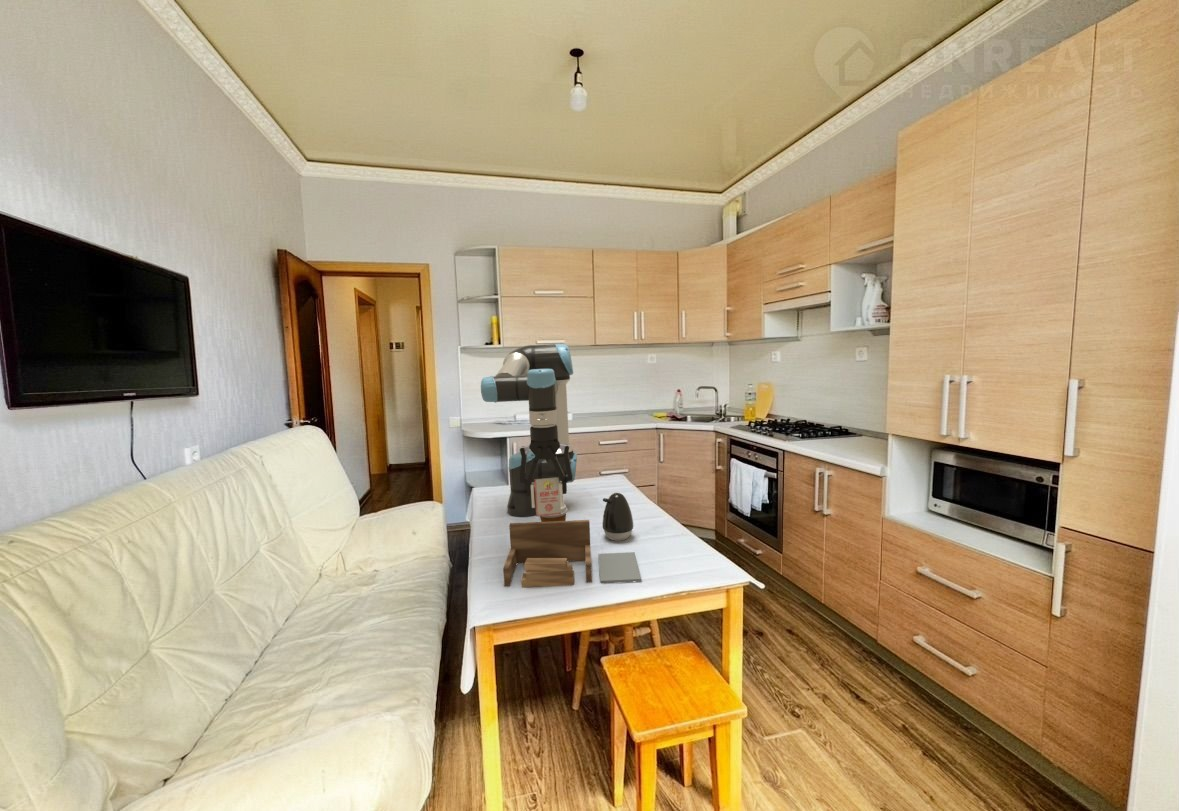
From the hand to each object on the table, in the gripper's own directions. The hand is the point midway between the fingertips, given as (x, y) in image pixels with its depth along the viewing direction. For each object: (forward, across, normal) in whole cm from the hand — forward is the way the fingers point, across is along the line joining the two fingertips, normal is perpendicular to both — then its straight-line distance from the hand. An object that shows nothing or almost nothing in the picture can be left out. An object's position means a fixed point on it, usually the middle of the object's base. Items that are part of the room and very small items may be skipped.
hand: (547, 505), depth 125 cm
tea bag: (+2, 0, 0) cm, 2 cm away
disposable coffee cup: (+19, 0, +19) cm, 27 cm away
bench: (+19, 0, -1) cm, 19 cm away
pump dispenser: (+19, +21, +20) cm, 35 cm away
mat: (+19, +19, -1) cm, 27 cm away
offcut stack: (+19, 0, -7) cm, 20 cm away
